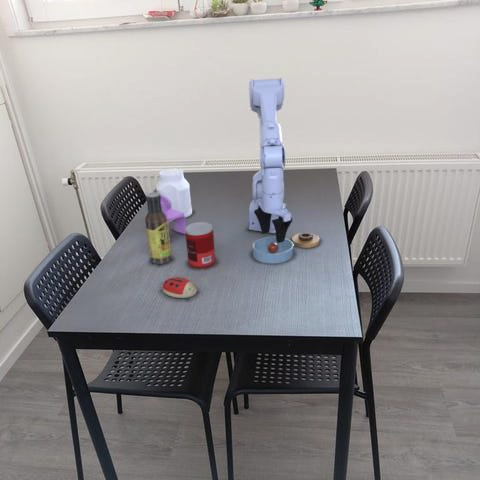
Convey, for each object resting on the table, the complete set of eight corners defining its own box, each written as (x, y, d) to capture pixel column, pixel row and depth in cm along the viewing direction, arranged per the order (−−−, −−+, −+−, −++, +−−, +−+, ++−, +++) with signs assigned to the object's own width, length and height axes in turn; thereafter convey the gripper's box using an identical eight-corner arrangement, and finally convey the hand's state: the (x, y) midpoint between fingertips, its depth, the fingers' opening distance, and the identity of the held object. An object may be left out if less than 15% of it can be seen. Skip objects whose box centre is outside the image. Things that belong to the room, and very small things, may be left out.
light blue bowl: (246, 259, 140) (245, 250, 138) (262, 243, 149) (262, 234, 147) (284, 266, 135) (284, 256, 134) (299, 249, 144) (299, 240, 142)
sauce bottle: (167, 266, 139) (157, 199, 127) (147, 264, 140) (136, 198, 129) (176, 256, 144) (167, 191, 132) (157, 254, 145) (147, 190, 134)
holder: (287, 245, 147) (287, 238, 145) (297, 234, 153) (297, 228, 152) (314, 249, 143) (314, 242, 142) (322, 238, 150) (323, 231, 148)
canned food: (219, 258, 141) (216, 223, 135) (209, 270, 135) (206, 234, 129) (195, 255, 144) (192, 220, 138) (184, 267, 137) (180, 231, 131)
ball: (265, 254, 141) (265, 244, 139) (270, 249, 144) (270, 239, 142) (275, 255, 140) (275, 245, 138) (280, 251, 142) (280, 241, 141)
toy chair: (190, 234, 156) (185, 189, 148) (169, 243, 151) (163, 197, 143) (173, 228, 161) (167, 184, 153) (152, 237, 156) (145, 191, 148)
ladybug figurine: (190, 302, 122) (189, 289, 120) (156, 296, 125) (154, 284, 123) (201, 289, 127) (200, 277, 125) (169, 283, 130) (167, 272, 128)
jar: (157, 218, 169) (150, 176, 161) (163, 208, 177) (158, 167, 169) (189, 218, 168) (184, 176, 159) (194, 208, 176) (190, 167, 167)
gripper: (300, 195, 128) (299, 242, 135) (269, 181, 138) (270, 225, 146) (278, 201, 125) (278, 248, 132) (249, 186, 135) (250, 231, 143)
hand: (272, 237), depth 139 cm, fingers open, 7 cm apart
